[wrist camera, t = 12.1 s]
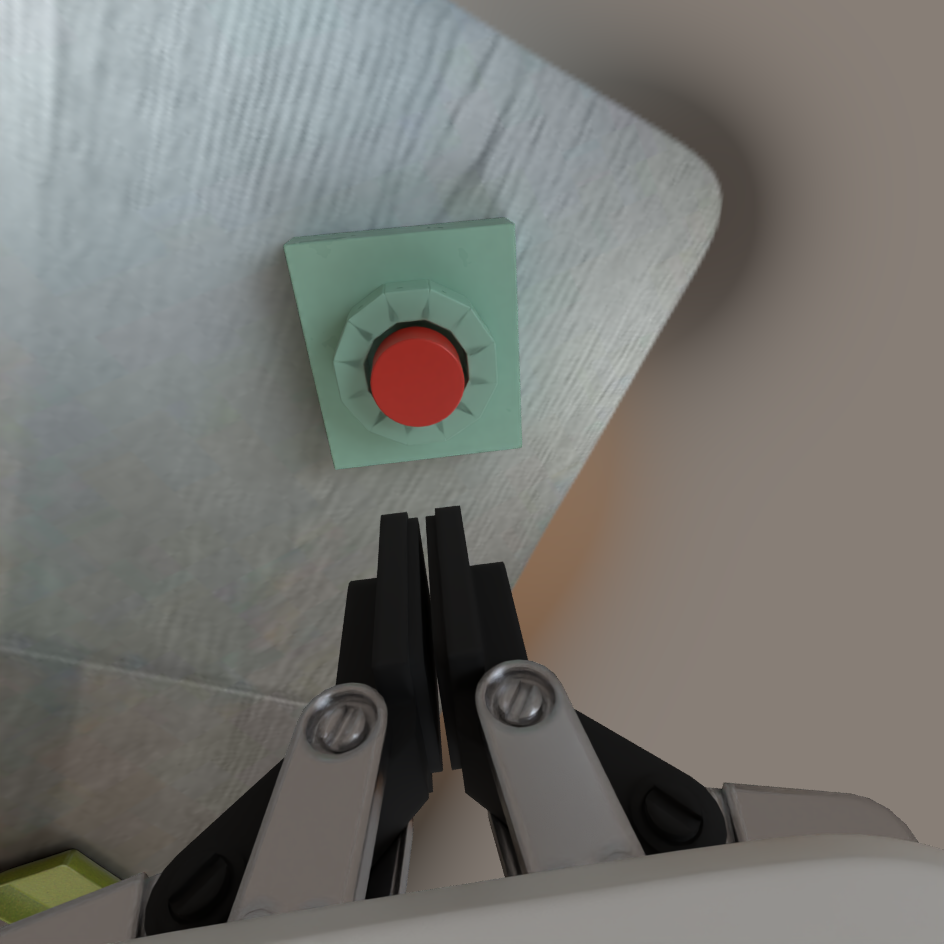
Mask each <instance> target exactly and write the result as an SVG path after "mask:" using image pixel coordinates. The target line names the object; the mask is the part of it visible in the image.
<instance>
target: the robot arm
mask: <svg viewBox="0 0 944 944" xmlns="http://www.w3.org/2000/svg"><path fill="white" fill-rule="evenodd" d="M426 533H427V549H428V566H429V582H430V594H429V587H428V581H427V574H426V568H425V561H424V554H423V548H422V541H421V535H420V528H419V522H418V517H417V518H409V519H408V514H407V512H403V513H395V514H386V515H381V521H380V537H379V554H378V570H377V578H372V579H364V580H356V581H350V583H349V586H348V592H347V600H346V608H345V616H344V624H343V631H342V639H341V647H340V655H339V663H338V671H337V679H336V686H334V687H331V688H329V689H326V690H324V691H323V692H322V693H320V694H319V695H317V696H316V697H314V698H313V699H312V700H311V701H310V703H309V704H308V705H307V706H306V707H305V708H304V709H303V711H302V713H301V715H300V717H299V719H298V721H297V724H296V726H295V729H294V732H293V735H292V738H291V741H290V744H289V746H288V749H287V752H286V755H285V757H284V758H283V759H282V760H281V761H280V762H279V763H278V764H277V765H276V766H275V767H273V768H272V769H271V770H270V771H269V772H268V773H267V774H266V775H265V776H264V777H262V778H261V779H260V780H259V781H258V782H257V783H256V784H255V785H254V786H253V787H252V788H250V789H249V790H248V791H247V792H246V793H245V794H244V795H243V796H242V797H241V798H239V799H238V800H237V801H236V802H235V803H234V804H233V805H232V806H231V807H230V808H228V809H227V810H226V811H225V812H224V813H223V814H222V815H221V816H220V817H219V818H217V819H216V820H215V821H214V822H213V823H212V824H211V825H210V826H209V827H208V828H207V829H205V830H204V831H203V832H202V833H201V834H200V835H199V836H198V837H197V838H196V839H194V840H193V841H192V842H191V843H190V844H189V845H188V846H187V847H186V848H185V849H183V850H182V851H181V852H180V853H179V854H178V855H177V856H176V857H175V858H174V859H173V860H172V862H171V863H170V864H169V865H168V866H167V867H166V868H165V869H164V870H163V872H162V873H159V874H157V875H154V876H151V877H148V876H147V874H146V873H145V872H143V873H140V874H137V875H135V876H132V877H130V878H127V879H125V880H122V881H119V882H117V883H114V884H112V885H109V886H106V887H104V888H101V889H99V890H96V891H94V892H91V893H88V894H86V895H83V896H81V897H78V898H76V899H73V900H70V901H68V902H65V903H63V904H60V905H57V906H55V907H52V908H50V909H47V910H45V911H42V912H39V913H37V914H34V915H32V916H29V917H27V918H24V919H21V920H19V921H16V922H14V923H11V924H9V925H6V926H3V927H1V928H0V944H944V849H940V848H937V847H933V846H930V845H926V844H922V843H919V842H918V841H917V839H916V838H915V837H914V835H913V834H912V832H911V831H910V829H909V828H908V827H907V825H906V824H905V823H904V822H903V821H901V819H899V818H898V817H897V816H896V815H895V814H894V813H893V812H892V811H890V810H889V809H888V808H886V807H884V806H882V805H881V804H879V803H877V802H875V801H873V800H871V799H870V798H866V797H862V796H858V795H854V794H849V793H839V792H838V793H837V792H827V791H815V790H804V789H793V788H781V787H769V786H758V785H747V784H734V783H724V784H723V787H722V789H718V788H706V787H704V786H703V785H701V784H700V783H699V782H697V781H696V780H695V779H693V778H692V777H690V776H689V775H687V774H685V773H684V772H682V771H680V770H679V769H677V768H675V767H673V766H672V765H670V764H668V763H667V762H665V761H663V760H661V759H660V758H658V757H656V756H655V755H653V754H651V753H649V752H648V751H646V750H644V749H642V748H641V747H639V746H637V745H635V744H634V743H632V742H630V741H629V740H627V739H625V738H624V737H622V736H620V735H618V734H617V733H615V732H613V731H612V730H610V729H608V728H606V727H605V726H603V725H601V724H599V723H598V722H596V721H594V720H593V719H591V718H589V717H587V716H586V715H584V714H582V713H580V712H579V711H577V710H575V709H574V708H573V706H572V704H571V702H570V700H569V698H568V696H567V693H566V691H565V689H564V687H563V685H562V684H561V682H560V681H559V679H558V678H557V676H556V675H555V674H554V673H553V672H552V671H550V670H549V669H548V668H546V667H545V666H543V665H541V664H538V663H536V662H533V661H528V658H527V654H526V650H525V646H524V642H523V638H522V634H521V630H520V626H519V622H518V618H517V613H516V609H515V605H514V601H513V597H512V593H511V589H510V585H509V581H508V577H507V572H506V568H505V565H504V563H503V562H496V563H488V564H481V565H473V566H469V559H468V553H467V547H466V541H465V534H464V528H463V522H462V516H461V509H460V506H452V507H444V508H435V515H434V516H426ZM430 599H431V600H430ZM437 679H438V685H439V692H440V698H441V704H442V711H443V717H444V723H445V729H446V736H447V742H448V748H449V755H450V761H451V767H452V770H454V769H462V772H463V779H464V786H465V793H467V794H468V795H469V796H470V797H472V798H473V799H474V800H475V801H477V802H478V803H479V804H480V805H482V806H483V807H484V808H486V809H487V810H488V817H489V821H490V825H491V829H492V833H493V836H494V840H495V843H496V847H497V851H498V854H499V858H500V861H501V865H502V869H503V872H504V876H505V878H499V879H493V880H487V881H480V882H475V883H468V884H462V885H456V886H449V887H443V888H436V889H430V890H424V891H418V892H412V893H406V886H407V878H408V870H409V862H410V854H411V846H412V838H413V817H414V816H415V814H416V813H417V812H418V811H419V810H420V808H421V807H422V806H423V804H424V803H425V802H426V801H427V800H428V798H429V793H431V792H433V786H432V785H433V784H432V773H434V772H441V771H443V764H442V748H441V734H440V733H441V732H440V717H439V701H438V685H437Z"/></svg>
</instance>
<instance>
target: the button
mask: <svg viewBox="0 0 944 944" xmlns="http://www.w3.org/2000/svg"><path fill="white" fill-rule="evenodd" d="M370 386H371V392H372V396H373V398H374V400H375V402H376V404H377V406H378V407H379V408H380V410H381V411H382V412H383V413H384V414H385V415H386V416H388V417H389V418H390V419H392V420H394V421H395V422H398V423H400V424H403V425H406V426H411V427H424V426H430V425H433V424H436V423H438V422H440V421H442V420H444V419H445V418H447V417H448V416H449V415H450V414H451V413H452V412H453V411H454V410H455V409H456V408H457V406H458V404H459V403H460V401H461V398H462V396H463V392H464V386H465V380H464V373H463V369H462V366H461V362H460V359H459V355H458V353H457V351H456V349H455V347H454V346H453V344H452V343H451V342H450V341H449V340H448V339H447V338H446V337H445V336H444V335H442V334H441V333H439V332H437V331H435V330H432V329H430V328H426V327H418V326H416V327H407V328H403V329H400V330H397V331H395V332H393V333H392V334H390V335H389V336H388V337H386V338H385V339H384V340H383V341H382V343H381V344H380V345H379V347H378V348H377V350H376V353H375V355H374V358H373V364H372V371H371V378H370Z"/></svg>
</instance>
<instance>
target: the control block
mask: <svg viewBox="0 0 944 944" xmlns="http://www.w3.org/2000/svg"><path fill="white" fill-rule="evenodd" d="M283 248H284V253H285V257H286V261H287V266H288V270H289V274H290V278H291V283H292V287H293V291H294V296H295V300H296V304H297V309H298V313H299V317H300V321H301V326H302V330H303V334H304V339H305V343H306V347H307V352H308V356H309V360H310V365H311V369H312V373H313V377H314V382H315V386H316V390H317V395H318V399H319V403H320V408H321V412H322V416H323V420H324V425H325V429H326V433H327V438H328V442H329V446H330V451H331V455H332V459H333V464H334V468H335V469H345V468H354V467H362V466H371V465H379V464H388V463H396V462H405V461H413V460H422V459H430V458H439V457H447V456H456V455H464V454H473V453H481V452H490V451H498V450H507V449H516V448H521V447H522V429H521V398H520V367H519V337H518V306H517V275H516V244H515V224H514V223H513V222H511V221H510V220H508V219H507V218H493V219H483V220H472V221H461V222H451V223H440V224H430V225H419V226H408V227H398V228H387V229H377V230H366V231H355V232H345V233H334V234H323V235H313V236H302V237H294V238H292V239H291V240H290V241H288V242H287V243H286V244H284V245H283ZM416 326H418V327H426V328H430V329H432V330H435V331H437V332H439V333H441V334H442V335H444V336H445V337H446V338H447V339H448V340H449V341H450V342H451V343H452V344H453V346H454V347H455V349H456V351H457V353H458V355H459V359H460V362H461V366H462V369H463V373H464V380H465V386H464V392H463V396H462V398H461V401H460V403H459V404H458V406H457V408H456V409H455V410H454V411H453V412H452V413H451V414H450V415H449V416H448V417H447V418H445V419H444V420H442V421H440V422H438V423H436V424H433V425H430V426H424V427H411V426H406V425H403V424H400V423H398V422H395V421H394V420H392V419H390V418H389V417H388V416H386V415H385V414H384V413H383V412H382V411H381V410H380V408H379V407H378V406H377V404H376V402H375V400H374V398H373V396H372V392H371V386H370V378H371V371H372V364H373V358H374V355H375V353H376V350H377V348H378V347H379V345H380V344H381V343H382V341H383V340H384V339H385V338H386V337H388V336H389V335H390V334H392V333H393V332H395V331H397V330H400V329H403V328H407V327H416Z"/></svg>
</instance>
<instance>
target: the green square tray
mask: <svg viewBox="0 0 944 944" xmlns="http://www.w3.org/2000/svg"><path fill="white" fill-rule="evenodd" d="M119 881H122V880H120V879H119V878H117V877H116V876H114V875H113V874H111V873H110V872H108V871H107V870H105V869H104V868H102V867H101V866H99V865H98V864H96V863H95V862H94V861H92V860H91V859H89V858H88V857H86V856H85V855H83V854H82V853H80V852H79V851H77V850H75V849H72V850H68V851H65V852H62V853H59V854H56V855H53V856H50V857H47V858H44V859H40V860H37V861H34V862H31V863H28V864H25V865H22V866H18V867H15V868H12V869H9V870H6V871H4V872H2V873H0V920H2V921H4V922H6V923H8V924H11V923H14V922H16V921H19V920H21V919H24V918H27V917H29V916H32V915H34V914H37V913H39V912H42V911H45V910H47V909H50V908H52V907H55V906H57V905H60V904H63V903H65V902H68V901H70V900H73V899H76V898H78V897H81V896H83V895H86V894H88V893H91V892H94V891H96V890H99V889H101V888H104V887H106V886H109V885H112V884H114V883H117V882H119Z"/></svg>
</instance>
